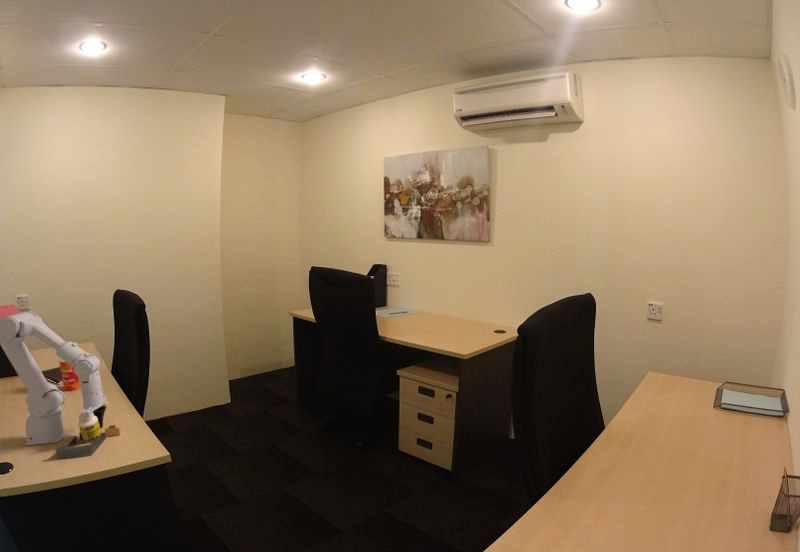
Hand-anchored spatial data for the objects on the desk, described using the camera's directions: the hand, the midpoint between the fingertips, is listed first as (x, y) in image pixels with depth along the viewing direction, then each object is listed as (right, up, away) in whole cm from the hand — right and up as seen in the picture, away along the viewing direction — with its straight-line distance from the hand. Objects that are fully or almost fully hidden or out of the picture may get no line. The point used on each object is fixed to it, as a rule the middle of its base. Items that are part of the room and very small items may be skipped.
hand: (98, 428), depth 154 cm
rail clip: (0, -3, -7) cm, 8 cm away
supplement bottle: (0, -2, -2) cm, 3 cm away
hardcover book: (-57, +4, +62) cm, 84 cm away
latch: (+5, -2, 0) cm, 5 cm away
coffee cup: (-41, +2, +44) cm, 60 cm away
